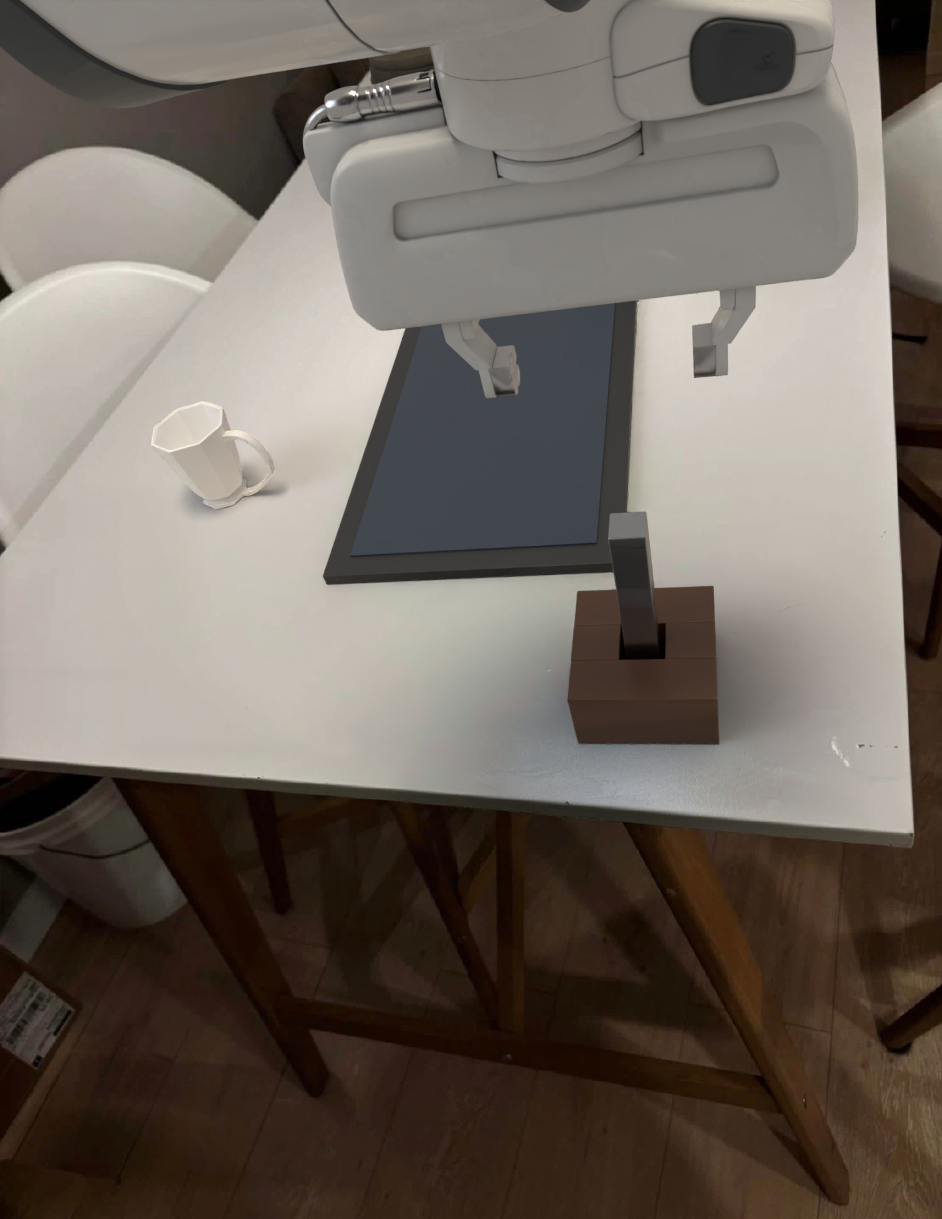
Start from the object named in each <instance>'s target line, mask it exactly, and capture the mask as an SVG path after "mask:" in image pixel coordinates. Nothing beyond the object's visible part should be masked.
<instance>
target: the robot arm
mask: <svg viewBox="0 0 942 1219" xmlns="http://www.w3.org/2000/svg"><path fill="white" fill-rule="evenodd" d="M835 22H836V21H835V10H834V5H833V1H832V0H0V48H1V49H2V50H3V51H4V52H5V53H6V54H7V55H9V56H10V57H11V58H12V59H14V60H15V61H16V62H17V63H18V64H20V65H21V66H23V67H24V68H25V69H27V71H29V72H30V73H32V74H33V75H35V76H36V77H37V78H39V79H40V80H42V81H43V82H45V83H47V84H48V85H50V86H51V87H53V88H55V89H57V91H58V90H59V91H60V92H62V93H64V94H66V95H68V96H71V97H73V98H75V99H77V100H80V101H82V102H85V103H88V104H92V105H94V106H101V107H104V108H110V109H111V108H112V109H131V108H138V107H141V106H145V105H149V104H153V103H157V102H160V101H165V100H168V99H171V98H174V97H175V98H176V97H178V96H183V95H186V94H190V93H194V92H198V91H202V90H207V89H210V88H212V87H215V86H218V85H222V84H224V83H226V82H228V81H230V80H234V79H240V78H246V77H254V76H260V75H265V74H267V75H268V74H272V73H278V72H286V71H291V70H297V69H298V70H299V69H304V68H311V67H317V66H325V65H330V64H336V63H343V62H350V61H357V60H363V59H369V57H376V56H382V55H389V54H395V53H398V52H400V51H403V50H409V49H416V48H422V47H430V51H431V55H432V60H433V64H434V69H433V70H426V71H421V72H418V73H414V74H409V75H404V76H399V77H396V78H392V79H391V80H387V81H384V82H381V83H378V84H374V85H372V84H370V85H365V86H359V85H349V86H344V87H340V88H337V89H334V90H333V91H330V92H328V93H327V94H325V95H324V104H322V105H320V106H318V107H317V108H316V109H315V110H314V111H313V112H312V113H311V114H310V115H309V117H308V118H307V120H306V123H305V125H304V129H303V134H302V146H303V152H304V157H305V159H306V163H307V166H308V168H309V171H310V174H311V177H312V180H313V183H314V185H315V188H316V191H317V192H318V194H319V196H320V197H321V198H322V200H323V201H324V202H325V203H326V204H327V205H328V206H329V207H330V208H331V216H332V224H333V225H332V226H333V230H334V235H335V242H336V247H337V248H336V249H337V252H338V255H339V256H338V257H339V262H340V266H341V270H342V274H343V278H344V283H345V285H346V289H347V293H348V296H349V301H350V303H351V306H352V309H353V310H354V312H355V314H356V315H357V316H358V317H359V318H361V319H362V320H363V321H364V322H365V323H367V324H368V325H370V326H371V327H372V328H373V329H375V330H377V331H379V332H380V331H381V332H384V331H387V332H388V331H395V330H396V331H397V330H403V329H404V330H405V328H412V327H420V326H429V325H437V324H441V326H442V329H443V333H444V336H445V340H446V343H447V344H448V345H449V346H450V347H452V348H453V349H454V350H455V351H456V352H457V353H458V354H459V355H460V356H461V357H462V358H463V359H464V360H465V361H466V362H467V363H469V364H470V365H471V366H472V367H473V368H474V369H475V370H479V374H480V378H481V382H482V386H483V390H484V393H485V397H486V398H495V397H497V398H498V397H507V396H516V395H517V394H518V386H519V385H520V370H519V365H518V364H516V359H517V356H516V351H515V347H514V345H511V346H499V347H497V345H496V344H495V343H494V342H493V341H492V339H491V338H490V337H489V336H488V335H487V334H486V333H485V331H484V330H483V329H482V328H481V327H480V326H479V325H478V324H479V320H480V319H487V318H495V317H503V316H512V315H520V314H528V313H537V312H545V311H553V310H561V309H570V308H578V307H586V306H595V305H603V304H611V303H620V302H628V301H636V300H637V301H643V300H652V299H661V298H668V297H669V298H670V297H677V296H685V295H694V294H700V293H702V294H703V293H710V292H716V291H717V292H719V307H718V308H717V311H716V313H714V315H713V318H712V319H711V321H710V322H706V323H699V324H692V325H691V332H692V336H691V337H692V339H691V340H692V341H691V342H692V362H693V363H692V364H693V365H692V366H693V378H694V379H698V378H699V379H701V378H710V377H722V376H728V375H729V345H730V344H732V343H733V341H734V340H735V338H736V337H737V335H738V334H739V333H740V331H741V330H742V328H743V327H744V325H745V324H746V322H747V320H748V319H749V318H750V316H751V315H752V314H753V312H754V310H755V309H756V301H757V297H756V296H757V287H761V286H768V285H776V284H777V285H778V284H784V283H792V282H800V281H802V282H803V281H810V280H819V279H825V278H829V277H831V276H833V275H834V274H835V273H836V272H837V271H838V270H839V269H840V268H841V267H842V266H843V264H844V263H845V262H846V261H847V260H848V259H849V258H850V257H851V255H852V254H853V253H854V251H855V249H856V247H857V240H858V230H859V173H858V172H859V170H858V159H857V147H856V141H855V133H854V128H853V124H852V120H851V116H850V112H849V108H848V104H847V103H848V102H847V100H846V96H845V93H844V90H843V87H842V85H841V82H840V79H839V77H838V73H837V71H836V68H835V66H834V64H833V62H832V59H833V55H834V54H833V53H834V46H835V33H836V32H835V31H836V30H835V28H836V26H835V25H836V24H835ZM325 118H327V119H328V120H329V121H327V122H322V120H324V119H325ZM321 122H322V123H321Z"/></svg>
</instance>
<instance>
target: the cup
mask: <svg viewBox="0 0 942 1219" xmlns="http://www.w3.org/2000/svg"><path fill="white" fill-rule="evenodd" d="M151 435H152V436H151V441H150V446H151V448H153V450H154V451H156V453H157V454H158V456H160V458H161V459H162V460H163V461H164V462H165V463H166V464H167V466H168V467H169V468H170V469H171V470H172V471H173V472H174V473H175V475H176V476H177V477H178V478H179V479H180V480H181V482H182V483H183V484H185V485H186V486H187V487H188V488H189V489H190V490H191V491H192V492H194V493H195V495H197V496H198V497H200V498H202V499H203V504H204V506H207V507H209V508H211V509H213V510H216V511H217V510H220V509H225V508H228V507H231V506H234V505H236V504H237V502H239V501H240V500H241V499H242V498H243V497H250V496H253V495H254V494H256V493H258V492H260V491H261V490H262V489H263V488H264V487H265V486H266V485H267V484H268V483H269V481H270V480H271V478H272V476H273V474H274V471H275V465H274V460H273V458H272V456H271V454H270V452H269V451H268V450H267V448H266V447H265V446H264V445H263V444H262V442H261V441H260V440H259V439H257V438H256V437H254V436H253V435H252V434H250V433H248V432H246V431H242V430H236V429H231V427H230V424H229V420H228V418H227V414H226V412H225V409H224V406H221V405H218V404H215V403H212V402H209V401H206V400H202V401H199V402H198V401H197V402H195V403H191V404H188V405H184V406H181V407H177V408H175V409H174V410H173V411H171V412H169V414H168V415H166V416H165V417H164V418H163V419H161V420H160V421H159V422H158V423H157V424H156V425H154V426H153V429H152V434H151ZM237 440H239V441H242V442H244V443H245V444H246V445H249V446H250V447H252V448H253V449H254V450H255V451H256V452H257V454H258V455H259V456H260V457H261V458H262V460H263V462H264V463H265V465H266V469H267V475H266V476H265V477H264V478H263V479H262V480H261V481H260V482H259V483H258V484H256V485H253V486H251V487H247V484H248V481H247V480H246V479H245V478H243V468H242V463H241V459H240V454H239V451H238V447H237V445H236V442H235V441H237Z"/></svg>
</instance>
